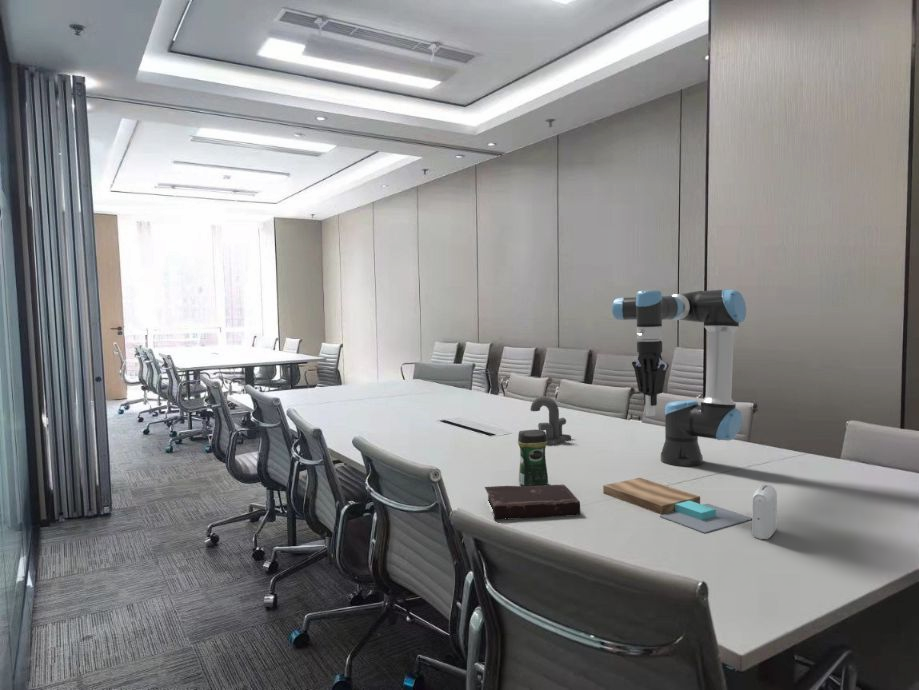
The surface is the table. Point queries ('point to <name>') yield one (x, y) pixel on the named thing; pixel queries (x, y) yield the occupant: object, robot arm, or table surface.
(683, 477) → the table surface
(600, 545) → the table surface
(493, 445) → the table surface
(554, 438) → the faucet
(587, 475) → the table surface
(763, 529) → the photo printer
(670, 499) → the wooden board
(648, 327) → the robot arm
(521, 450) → the coffee jar
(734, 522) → the mat
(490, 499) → the diary
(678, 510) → the turquoise flat block
